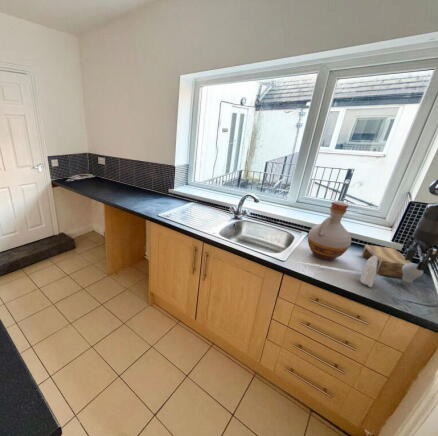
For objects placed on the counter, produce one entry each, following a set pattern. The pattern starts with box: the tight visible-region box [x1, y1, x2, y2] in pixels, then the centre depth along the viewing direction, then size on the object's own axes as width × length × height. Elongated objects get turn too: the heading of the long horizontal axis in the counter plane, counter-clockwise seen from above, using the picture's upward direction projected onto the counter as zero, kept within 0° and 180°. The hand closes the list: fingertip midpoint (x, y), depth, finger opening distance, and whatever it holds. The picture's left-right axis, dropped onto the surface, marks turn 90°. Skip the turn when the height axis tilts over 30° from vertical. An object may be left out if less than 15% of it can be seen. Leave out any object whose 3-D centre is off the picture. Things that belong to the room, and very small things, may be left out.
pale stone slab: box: [359, 256, 379, 288], centre depth 107 cm, size 12×4×11 cm, turn 139°
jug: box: [307, 201, 352, 261], centre depth 122 cm, size 20×18×30 cm
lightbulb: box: [401, 262, 424, 287], centre depth 103 cm, size 6×6×11 cm
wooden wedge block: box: [361, 244, 413, 279], centre depth 119 cm, size 12×18×7 cm, turn 159°
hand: (413, 264), depth 102 cm, fingers open, 8 cm apart
